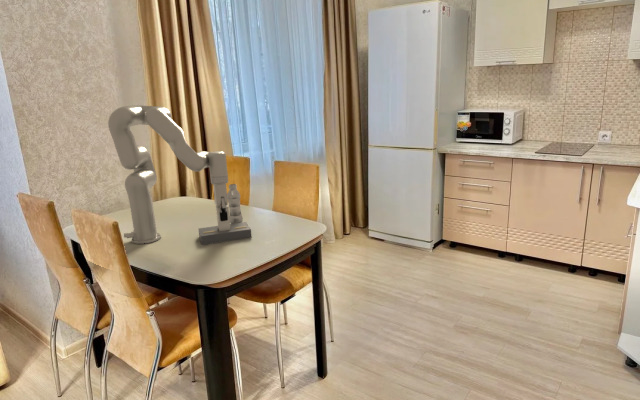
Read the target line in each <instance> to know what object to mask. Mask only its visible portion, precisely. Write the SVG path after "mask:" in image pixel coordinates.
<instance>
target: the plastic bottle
mask: <svg viewBox="0 0 640 400" xmlns="http://www.w3.org/2000/svg"><path fill="white" fill-rule="evenodd" d="M237 186H238V185H237V184H236V183H232V184H228V191H227V200H228V207H229V218H230V224H235V223H242V222H244V221H243V219H244V218H243V214H242V211H241V194H240V191H239V190H238V187H237Z"/></svg>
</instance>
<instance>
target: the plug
mask: <svg viewBox="0 0 640 400" xmlns="http://www.w3.org/2000/svg"><path fill="white" fill-rule="evenodd" d="M220 205H221V206H222V204H220ZM221 208H222V207H221ZM226 210H227V216H228V220H227V221H220V207H219V206H218V207H217V206H216V205H215V211H216V217H217V219H216V220H217V226H218V231H224V230H231V228H230V224H231V223H230V218H229V204H228V205H227V206H226Z"/></svg>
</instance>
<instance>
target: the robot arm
mask: <svg viewBox="0 0 640 400" xmlns="http://www.w3.org/2000/svg"><path fill="white" fill-rule="evenodd" d="M107 124H108V130H109V133H110V135H111V138H112V141H113V144H114V147H115V150H116V153H117V156H118V158H119V159H118V160H119V162H120V164H121V166H122V167H123V168H124V169H126V170H133V172H132V173H129V175H128V176H127V177H126V178H125V181H124V188H125V191H126V194H127V197H128V202H129V208H130V214H131V220H132V227H133V231H131V232H126V233H123V237H124V238H125V239H131V243H133V244H137V245H142V244H144V243H145V244H150V243H153V242H157V241H159V240H160V239H161V238H162V234H161V233H158V232H157V224H156V218H155V216H156V215H155V210H154V209H155V208H154V203H153V202H154V201H153V198H152V195H151V193H150V192H151V191H150V189H151V188H153V187H154V186H155V185H156V183H157V179H158V176H157V172H156V169H155V166H154V163H153V160H152V156H151V154H150V152H149V151H148V149H147V148H146V147H144V146H142V145H137V142H136V138H135V136H134V133H132V131H131V129H130V128H131V127H133V126H138V125H139V126H140V125H142V126H143V125H146V126H147V125H148V126H149V127H150V128H151V129H152V130H153V131H154V132H155V133H157V135H158V136H160V137H161V138H162V140H163V141H165V142H166V143H167V144H168V145H169V147H170V149H171V151H172V153H174V155H175V157H176V158H177V159H178V160H179V162H181V163H182V164H183V165H184V166H185V167H186V168H188V169H189V170H190V171H192V172H196V173H197V172H201V171H202V170H204V169H207V168H209V177H210V183H211V185H212V186H213V187H212V188H213V197H214V204H215V207H216V206H217V207H218V206H219V207H220V221H227V220H228V216H227V210H226V206H227V205H228V206H229V203H228V199H227V193H228V191H227V190H228V189H227V184H229V175H228V165H227V154H226V152H224V151H220V150H219V151H217V150H216V151H205V150H200V151H197V152H196V151H195V150H194V149H193V148H192V147H191V146H190V145H189V143H188V142H187V140H186V138H185V132H184V130H183V129H182V128H181V127H180V126H179V125H178V124H177V123H176V122H175V121H174V120H173V119H172V113H171V111H170V110H169V109H168V108H166V106H165V107H164V106H161V105H160V106H159V105H158V106H154V105H153V106H152V105H139V104H138V105H135V104H134V105H133V104H132V105H124V106H121V107H118V108H116V109H115V110H114V111H112V113H111V114H110V116H109V117H108V123H107ZM220 204H222V206H221V205H220ZM221 207H222V208H221Z"/></svg>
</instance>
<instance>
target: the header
mask: <svg viewBox="0 0 640 400" xmlns="http://www.w3.org/2000/svg"><path fill="white" fill-rule="evenodd" d="M230 228H231V230H224V231H218V225H216V226H214V225H213V226H206V227H200V228H199V227H198V236H199V240H200V243H201V245H202V246H204V245H210V244H217V243H223V242H229V241H230V242H231V241H237V240H246V239H251V238H253V237H252V229H251V227H250V226H249V224H248V222H246V221H242V223H235V224H231V223H230Z"/></svg>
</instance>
